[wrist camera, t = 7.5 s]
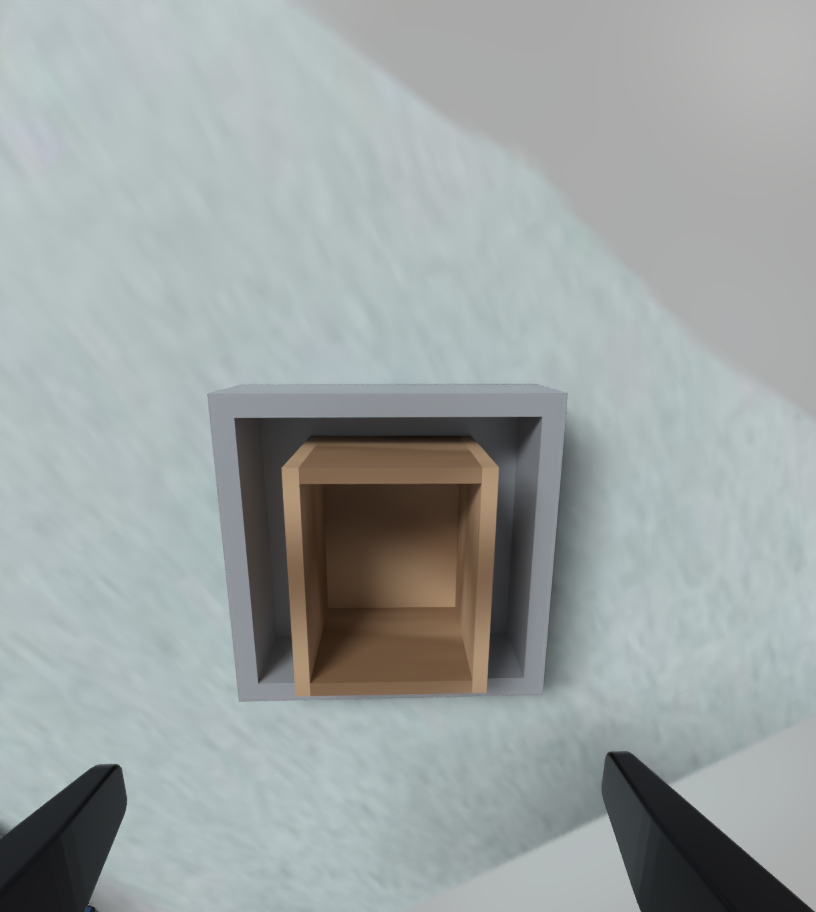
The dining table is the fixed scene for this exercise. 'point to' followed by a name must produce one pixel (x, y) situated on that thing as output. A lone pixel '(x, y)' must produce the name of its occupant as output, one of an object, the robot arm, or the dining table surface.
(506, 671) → the grey crate
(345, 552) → the walnut crate
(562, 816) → the dining table surface
